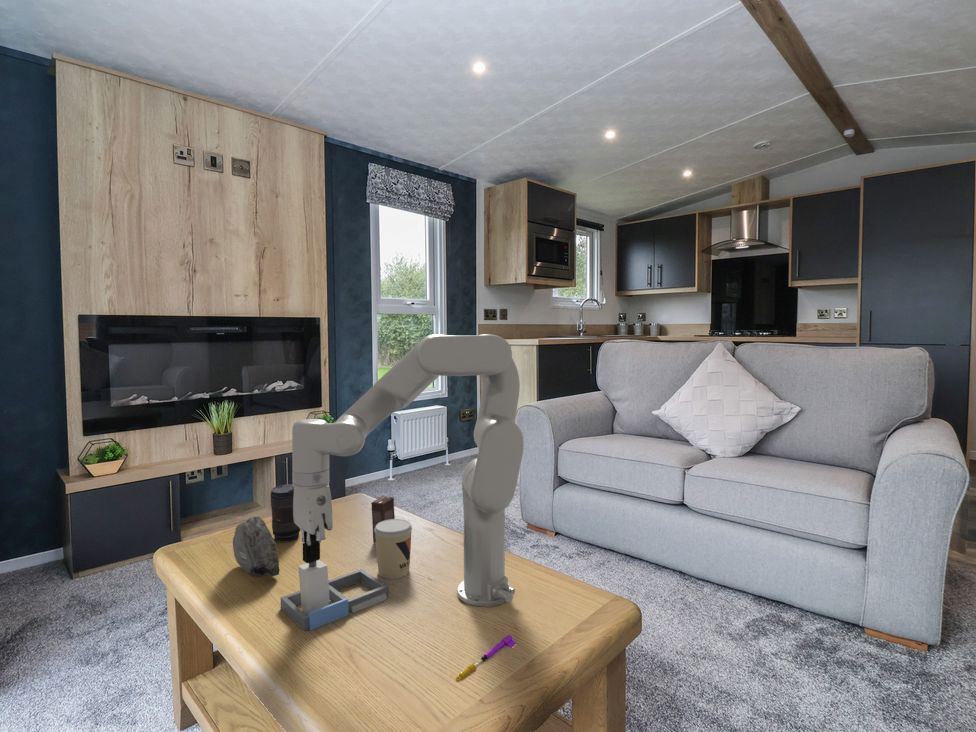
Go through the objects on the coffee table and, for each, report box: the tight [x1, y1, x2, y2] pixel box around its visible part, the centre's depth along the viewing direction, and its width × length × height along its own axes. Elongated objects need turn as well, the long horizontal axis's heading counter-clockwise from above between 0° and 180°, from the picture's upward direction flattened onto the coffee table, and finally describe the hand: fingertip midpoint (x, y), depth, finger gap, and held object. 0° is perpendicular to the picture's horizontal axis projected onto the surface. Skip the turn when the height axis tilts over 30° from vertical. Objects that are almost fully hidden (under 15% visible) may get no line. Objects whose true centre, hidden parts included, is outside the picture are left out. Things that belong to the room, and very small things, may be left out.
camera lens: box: [270, 483, 301, 543], centre depth 154 cm, size 8×8×15 cm
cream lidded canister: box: [374, 518, 413, 579], centre depth 132 cm, size 9×9×12 cm
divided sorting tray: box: [280, 568, 390, 632], centre depth 117 cm, size 13×20×4 cm, turn 133°
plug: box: [298, 559, 331, 615], centre depth 114 cm, size 4×4×11 cm
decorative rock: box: [232, 515, 280, 577], centre depth 131 cm, size 16×7×15 cm, turn 44°
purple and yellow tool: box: [455, 634, 517, 682], centre depth 97 cm, size 3×1×16 cm
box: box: [370, 495, 396, 544], centre depth 152 cm, size 6×4×12 cm
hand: (311, 560), depth 113 cm, fingers closed
